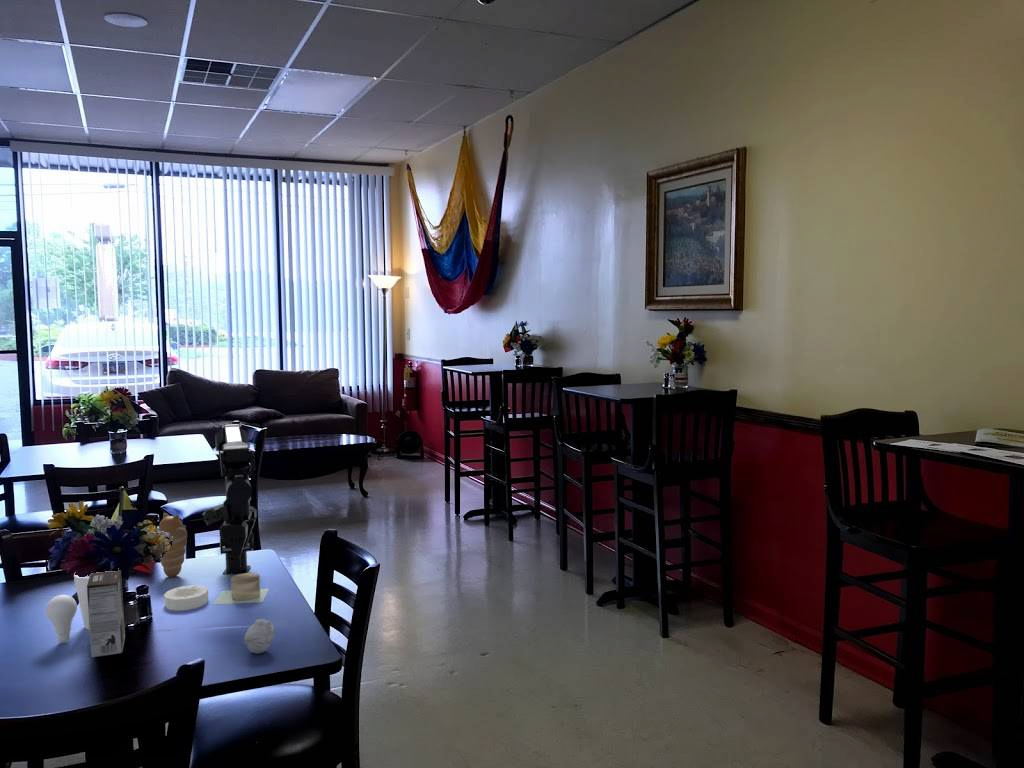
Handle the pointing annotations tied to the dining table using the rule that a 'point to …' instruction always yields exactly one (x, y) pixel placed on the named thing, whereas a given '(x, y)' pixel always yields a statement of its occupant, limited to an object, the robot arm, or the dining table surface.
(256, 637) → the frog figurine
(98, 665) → the dining table surface
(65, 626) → the lightbulb
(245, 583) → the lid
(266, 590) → the mat
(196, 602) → the bowl
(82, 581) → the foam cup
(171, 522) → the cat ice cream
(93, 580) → the coffee box
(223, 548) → the robot arm
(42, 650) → the dining table surface
